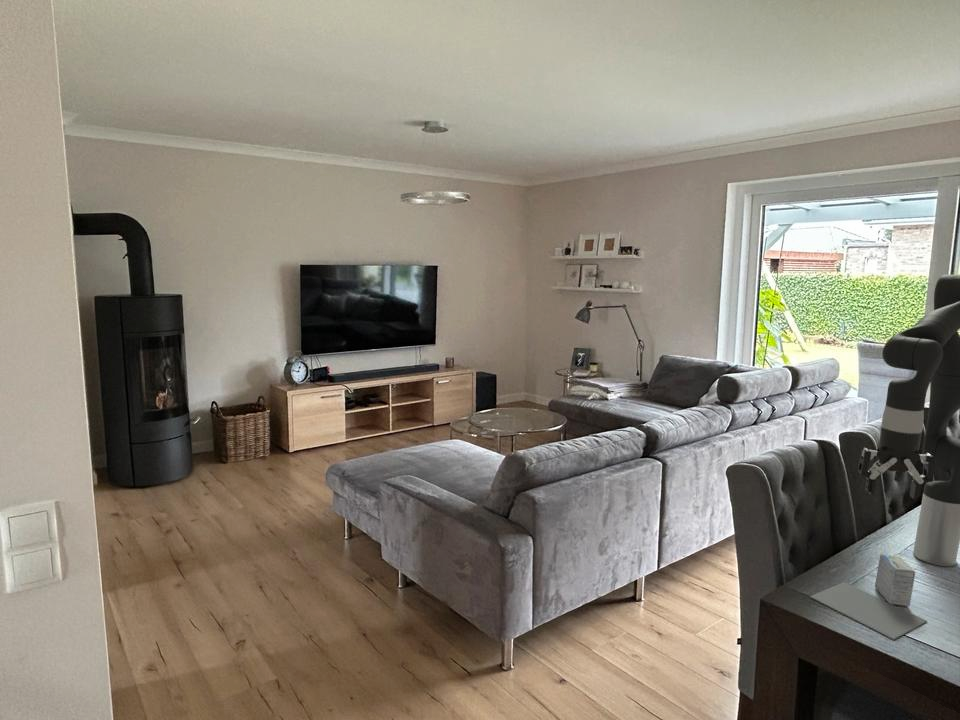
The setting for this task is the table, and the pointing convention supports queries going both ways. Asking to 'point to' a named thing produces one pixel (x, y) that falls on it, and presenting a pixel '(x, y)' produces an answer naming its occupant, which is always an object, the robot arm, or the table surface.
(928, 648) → the table surface
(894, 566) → the medicine box
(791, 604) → the table surface
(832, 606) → the slate mat
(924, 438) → the robot arm
